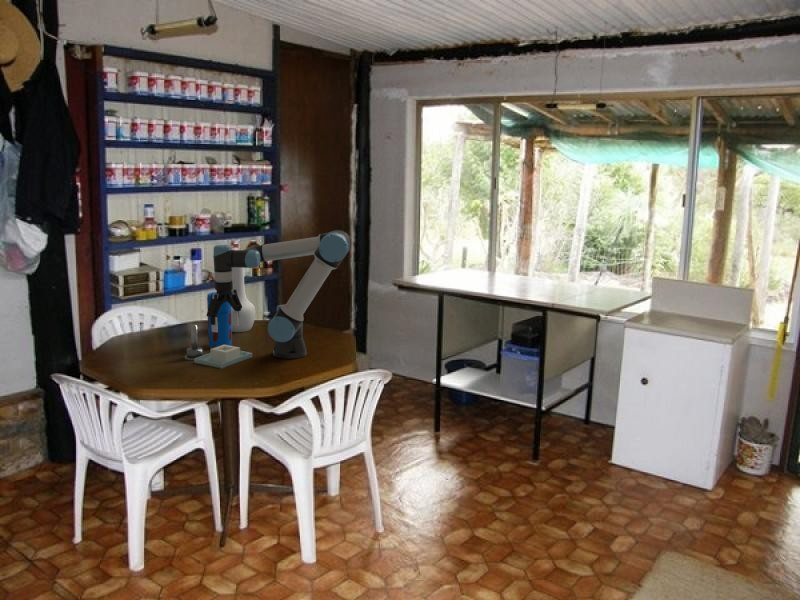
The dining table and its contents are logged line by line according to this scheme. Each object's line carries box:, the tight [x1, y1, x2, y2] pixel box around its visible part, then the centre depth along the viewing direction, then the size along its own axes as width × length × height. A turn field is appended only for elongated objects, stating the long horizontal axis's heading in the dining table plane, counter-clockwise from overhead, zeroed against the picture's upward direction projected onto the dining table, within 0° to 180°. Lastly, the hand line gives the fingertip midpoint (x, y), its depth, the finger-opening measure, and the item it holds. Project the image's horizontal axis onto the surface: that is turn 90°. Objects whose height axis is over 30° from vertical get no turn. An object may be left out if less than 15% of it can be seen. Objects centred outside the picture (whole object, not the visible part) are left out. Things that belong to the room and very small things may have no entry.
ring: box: [209, 345, 241, 363], centre depth 314 cm, size 11×9×5 cm
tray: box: [193, 350, 253, 369], centre depth 314 cm, size 15×20×2 cm
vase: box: [231, 267, 256, 333], centre depth 364 cm, size 17×17×35 cm
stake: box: [184, 323, 205, 362], centre depth 315 cm, size 9×9×15 cm
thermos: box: [206, 291, 233, 349], centre depth 334 cm, size 11×11×25 cm
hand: (225, 328), depth 311 cm, fingers open, 13 cm apart
